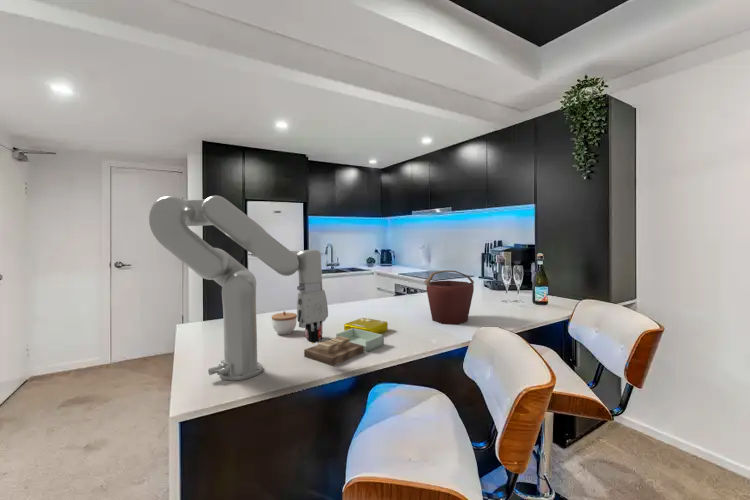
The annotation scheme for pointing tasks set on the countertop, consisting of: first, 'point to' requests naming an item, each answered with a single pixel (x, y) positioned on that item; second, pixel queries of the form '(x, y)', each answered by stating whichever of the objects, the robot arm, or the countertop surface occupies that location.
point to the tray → (363, 338)
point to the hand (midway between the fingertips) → (313, 341)
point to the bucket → (449, 299)
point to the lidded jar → (284, 322)
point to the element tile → (368, 325)
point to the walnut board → (334, 354)
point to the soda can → (318, 332)
